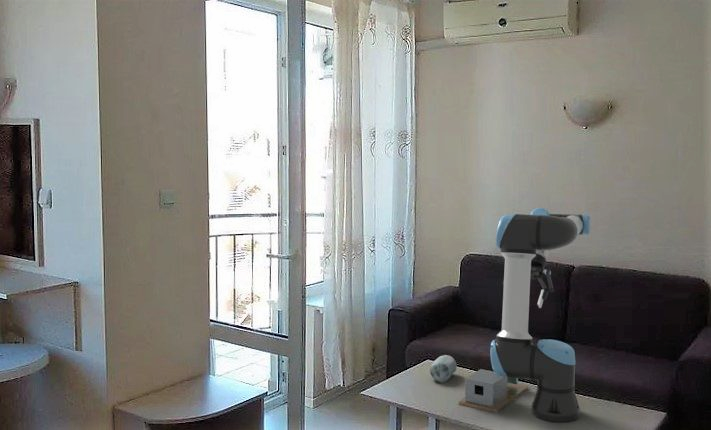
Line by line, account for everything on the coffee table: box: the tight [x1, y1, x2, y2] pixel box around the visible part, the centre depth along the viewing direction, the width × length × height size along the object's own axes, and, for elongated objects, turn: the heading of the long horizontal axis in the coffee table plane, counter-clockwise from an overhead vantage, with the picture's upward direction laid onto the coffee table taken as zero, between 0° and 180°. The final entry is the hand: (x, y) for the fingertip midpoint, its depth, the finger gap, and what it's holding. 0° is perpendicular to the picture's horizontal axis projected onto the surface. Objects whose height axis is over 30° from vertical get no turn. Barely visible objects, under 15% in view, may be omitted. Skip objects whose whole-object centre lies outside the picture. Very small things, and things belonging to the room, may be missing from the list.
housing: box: [458, 368, 529, 414], centre depth 244 cm, size 27×14×9 cm, turn 145°
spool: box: [429, 354, 458, 383], centre depth 263 cm, size 14×10×10 cm
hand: (521, 304), depth 262 cm, fingers open, 12 cm apart
